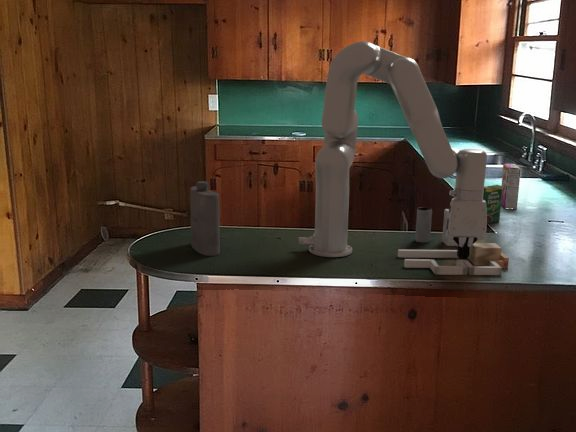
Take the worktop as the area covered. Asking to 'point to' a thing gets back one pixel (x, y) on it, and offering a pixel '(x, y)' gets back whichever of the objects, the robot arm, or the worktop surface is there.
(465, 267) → the channel
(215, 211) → the flask
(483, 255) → the beech block
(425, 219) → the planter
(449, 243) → the small box
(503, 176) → the candy bar box
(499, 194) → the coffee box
